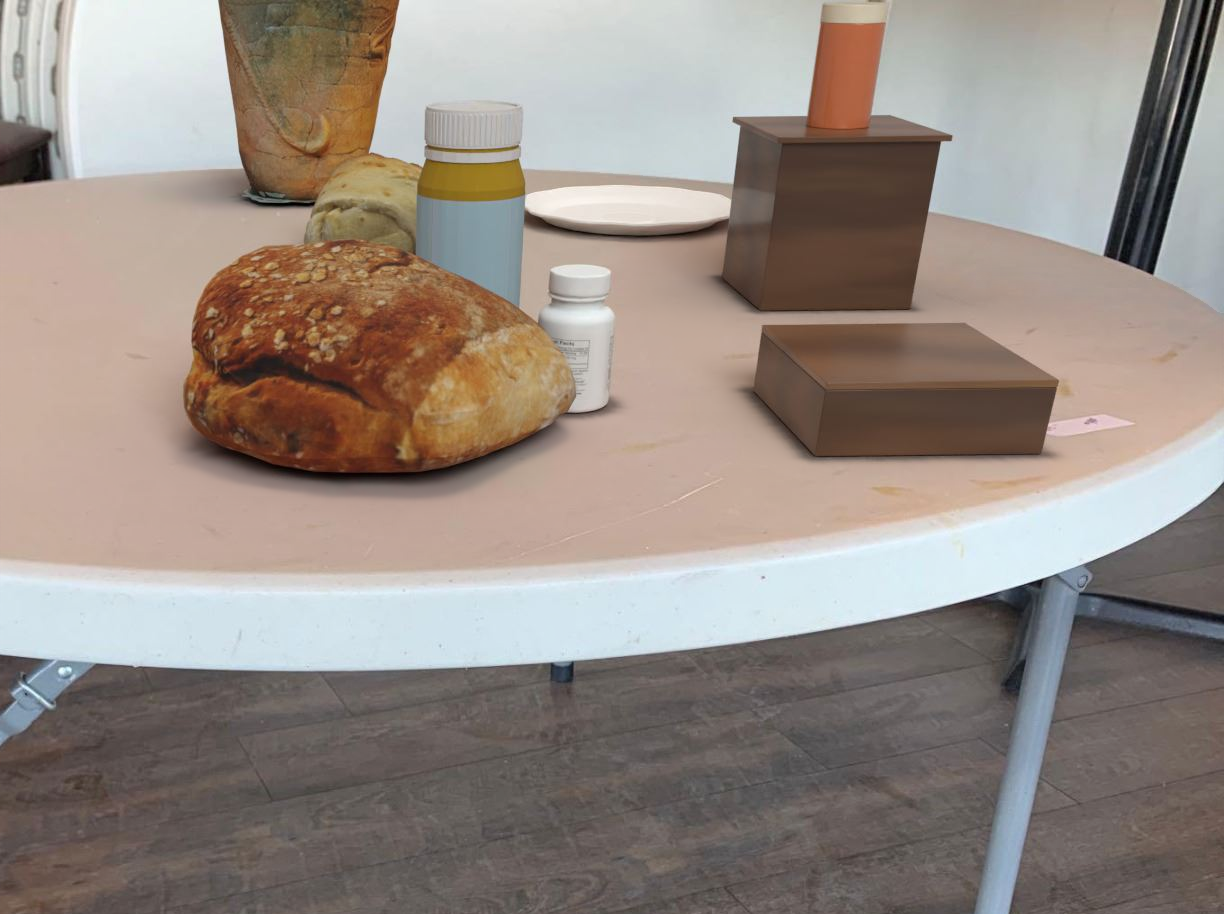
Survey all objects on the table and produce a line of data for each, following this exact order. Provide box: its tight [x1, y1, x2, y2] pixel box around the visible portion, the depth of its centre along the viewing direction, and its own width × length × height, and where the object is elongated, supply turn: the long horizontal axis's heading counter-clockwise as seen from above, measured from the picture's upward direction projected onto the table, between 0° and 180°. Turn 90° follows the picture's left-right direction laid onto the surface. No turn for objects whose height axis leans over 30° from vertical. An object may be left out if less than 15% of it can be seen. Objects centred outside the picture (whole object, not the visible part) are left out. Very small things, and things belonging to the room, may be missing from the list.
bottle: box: [416, 100, 526, 309], centre depth 92 cm, size 7×7×15 cm
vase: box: [217, 0, 400, 204], centre depth 141 cm, size 21×20×30 cm
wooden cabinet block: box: [721, 114, 954, 312], centre depth 104 cm, size 12×12×12 cm
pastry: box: [302, 151, 423, 255], centre depth 120 cm, size 14×12×8 cm
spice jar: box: [806, 1, 890, 129], centre depth 100 cm, size 4×4×8 cm
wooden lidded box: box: [753, 322, 1060, 457], centre depth 78 cm, size 12×12×4 cm
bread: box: [182, 239, 576, 474], centre depth 76 cm, size 20×18×10 cm
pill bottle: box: [537, 263, 616, 414], centre depth 81 cm, size 4×4×8 cm
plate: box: [525, 184, 732, 236], centre depth 134 cm, size 21×21×2 cm
